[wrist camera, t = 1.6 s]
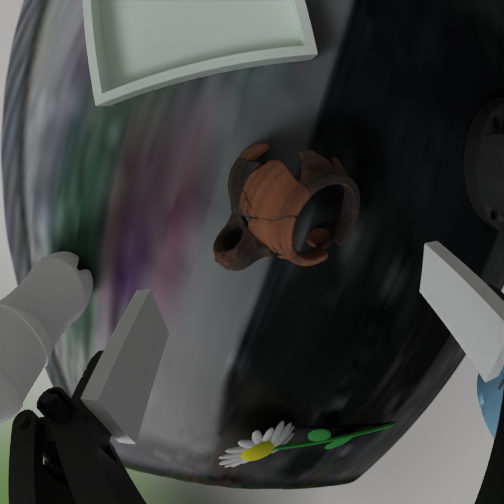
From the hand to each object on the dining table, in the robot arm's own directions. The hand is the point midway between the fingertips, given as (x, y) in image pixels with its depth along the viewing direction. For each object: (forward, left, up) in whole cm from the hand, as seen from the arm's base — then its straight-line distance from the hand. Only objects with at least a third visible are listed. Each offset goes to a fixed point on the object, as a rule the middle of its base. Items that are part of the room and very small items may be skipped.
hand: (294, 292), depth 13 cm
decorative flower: (-1, +37, -14) cm, 40 cm away
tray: (+4, -21, -14) cm, 25 cm away
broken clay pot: (0, 0, -14) cm, 14 cm away
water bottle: (+23, +3, -14) cm, 27 cm away
